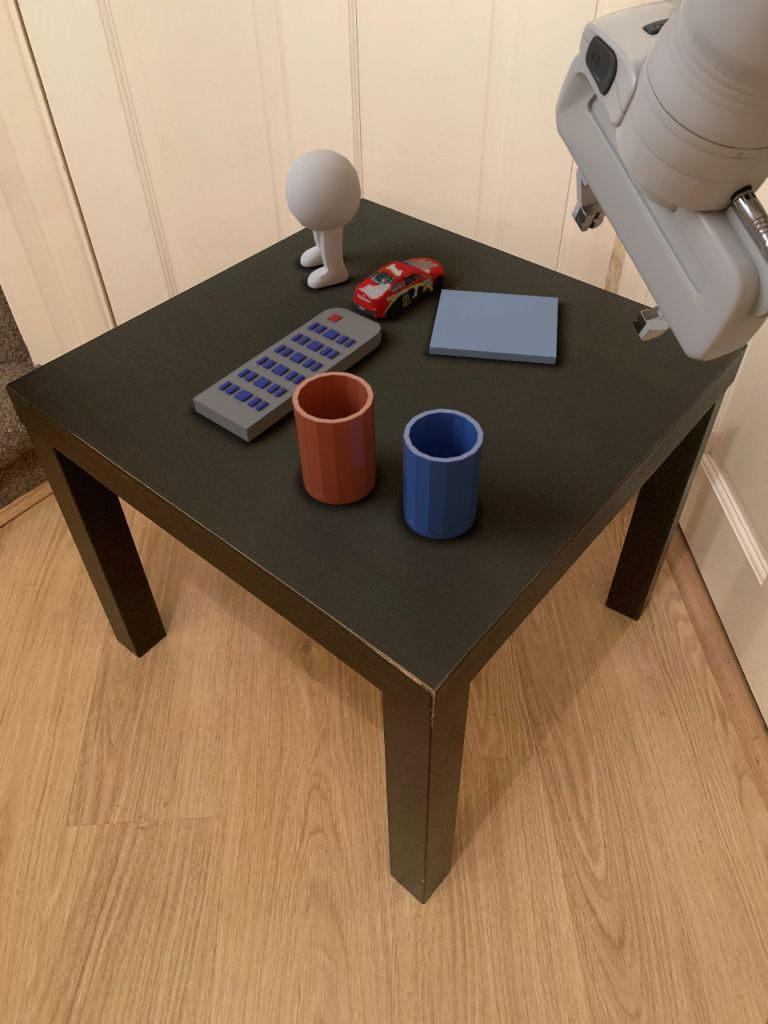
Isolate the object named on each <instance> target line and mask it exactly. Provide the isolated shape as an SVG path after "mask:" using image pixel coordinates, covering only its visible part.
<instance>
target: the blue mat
mask: <svg viewBox="0 0 768 1024" xmlns="http://www.w3.org/2000/svg"><path fill="white" fill-rule="evenodd" d="M558 312H559V297H555V296H554V297H552V296H538V295H523V294H511V293H500V292H499V293H498V292H483V291H472V290H471V291H470V290H469V291H468V290H458V289H457V290H456V289H455V290H454V289H441V292H440V296H439V301H438V305H437V310H436V316H435V320H434V324H433V328H432V334H431V339H430V343H429V352H428V353H429V354H430V355H438V356H450V357H461V358H463V357H464V358H476V359H487V360H497V361H498V360H499V361H511V362H523V363H524V362H525V363H535V364H547V365H555V364H556V361H557V347H558V346H557V345H558V318H559V317H558V316H559V313H558Z"/></svg>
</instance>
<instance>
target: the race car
mask: <svg viewBox="0 0 768 1024" xmlns="http://www.w3.org/2000/svg"><path fill="white" fill-rule="evenodd" d="M445 279H446V275H445V270H444V268H443V267H442V265H441V263H440V262H439V261H437V260H435V259H432V258H428V257H413V258H410V259H407V260H404V261H397V260H393V261H392V262H390V263H387V264H386V265H384V266H383V267H380V268H379V269H378V270H376V271H374V272H373V273H372V274H371V275H370V276H368V277H367V278H366V279H365V280H364V281H362V282H361V283H359V285H357V286H356V288H355V290H354V292H353V297H352V298H353V308H354V309H356V310H359V311H360V312H362V313H364V314H366V315H368V316H370V317H374V318H386V317H389V316H391V317H394V316H397V314H398V313H399V311H400V309H401V310H402V309H404V308H406V307H407V306H409V305H410V304H412V303H414V302H415V301H417V300H419V299H421V298H423V297H425V295H427V294H429V293H431V292H433V291H439V290H440V289H441V288H442V286H443V284H444V283H445Z"/></svg>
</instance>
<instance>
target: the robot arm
mask: <svg viewBox="0 0 768 1024" xmlns="http://www.w3.org/2000/svg"><path fill="white" fill-rule="evenodd" d="M582 31H583V32H582V33H581V36H580V39H579V47H578V50H579V52H578V53H577V54H576V55H575V57H574V58H573V60H572V62H571V63H570V65H569V67H568V69H567V72H566V75H565V77H564V79H563V82H562V84H561V85H562V86H561V88H560V91H559V93H558V97H557V99H556V104H555V109H554V111H555V113H554V114H555V125H556V131H557V133H558V135H559V137H560V138H561V140H562V142H563V143H564V145H565V147H566V149H567V150H568V152H569V154H570V155H571V157H572V159H573V161H574V163H575V165H576V166H577V169H576V171H575V173H576V174H575V175H576V176H575V177H576V178H575V181H576V182H575V183H576V200H577V201H576V203H575V206H574V208H573V211H572V212H571V217H572V219H573V220H574V221H575V223H576V225H577V227H578V228H579V230H580V232H581V233H582V232H583V233H584V232H587V231H588V230H589V229H590V230H591V229H592V230H593V229H597V228H598V227H600V226H601V225H602V224H603V223H604V217H607V220H608V222H609V223H610V225H611V227H612V228H613V230H614V232H615V234H616V236H617V237H618V239H619V241H620V242H621V245H622V246H623V248H624V250H625V251H626V253H627V255H628V256H629V258H630V260H631V262H632V263H633V266H634V267H635V269H636V270H637V272H638V274H639V275H640V277H641V279H642V281H643V282H644V284H645V286H646V288H647V289H648V292H649V293H650V294H651V297H652V299H653V300H654V302H655V303H656V305H655V306H653V308H645V309H644V310H640V311H639V313H638V314H637V316H636V319H633V321H632V325H633V327H634V329H635V330H636V332H637V334H638V336H639V338H640V339H641V341H642V342H646V341H650V340H652V339H655V338H657V337H659V336H661V335H663V334H664V333H665V332H666V331H668V330H671V332H672V334H673V335H674V337H675V338H676V340H677V342H678V343H679V345H680V347H681V349H682V351H683V352H684V354H685V355H686V357H688V358H689V359H692V360H696V361H702V362H707V361H710V360H714V359H717V358H720V357H722V356H723V357H724V356H726V355H728V354H730V353H732V352H735V351H737V350H739V349H741V348H743V347H745V346H746V345H747V344H748V343H749V342H750V341H751V340H752V338H754V336H755V335H756V334H757V333H758V331H759V330H760V329H761V328H762V326H763V325H764V323H765V322H766V320H767V319H768V213H767V211H766V209H765V207H764V206H763V204H762V203H761V201H760V199H759V198H758V196H757V195H756V193H757V192H758V190H759V189H760V188H761V187H762V185H764V183H765V182H766V180H767V179H768V0H659V1H653V2H648V3H644V4H643V3H642V4H640V5H636V6H631V7H628V8H624V9H621V10H618V11H614V12H611V13H608V14H605V15H603V16H599V17H598V18H595V19H592V20H590V21H588V22H587V23H586V24H585V26H584V28H583V30H582Z"/></svg>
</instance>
